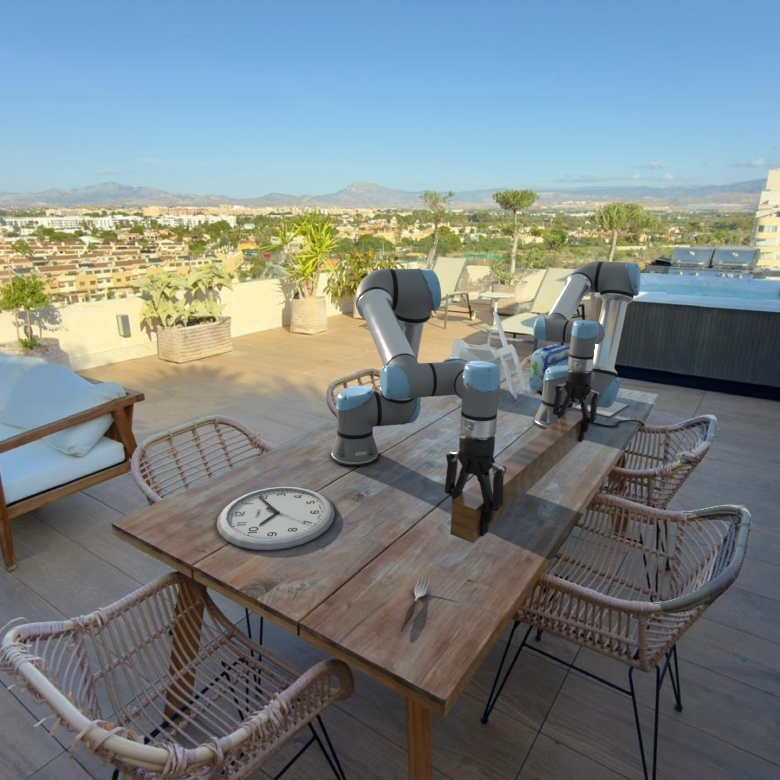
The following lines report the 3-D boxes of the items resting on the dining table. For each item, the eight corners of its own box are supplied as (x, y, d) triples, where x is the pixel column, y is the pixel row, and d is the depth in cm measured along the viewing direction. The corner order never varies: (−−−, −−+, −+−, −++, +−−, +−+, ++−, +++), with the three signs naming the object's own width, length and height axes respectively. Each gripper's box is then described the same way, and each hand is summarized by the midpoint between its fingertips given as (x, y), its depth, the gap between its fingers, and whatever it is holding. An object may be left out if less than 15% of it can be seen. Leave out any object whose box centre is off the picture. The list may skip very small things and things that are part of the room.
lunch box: (545, 397, 238) (550, 352, 231) (524, 391, 245) (529, 348, 239) (572, 386, 255) (578, 344, 249) (552, 381, 262) (557, 340, 256)
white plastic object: (461, 429, 252) (437, 405, 227) (444, 352, 274) (420, 323, 250) (535, 404, 240) (518, 377, 215) (510, 326, 262) (492, 293, 237)
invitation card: (608, 416, 214) (573, 407, 224) (608, 416, 214) (573, 408, 224) (628, 404, 229) (594, 396, 238) (628, 405, 229) (594, 397, 238)
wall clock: (333, 542, 123) (202, 546, 121) (333, 547, 124) (203, 552, 121) (335, 482, 152) (229, 485, 149) (335, 487, 152) (230, 490, 150)
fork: (394, 632, 98) (394, 623, 98) (419, 581, 113) (419, 573, 112) (407, 636, 97) (407, 627, 97) (430, 584, 112) (431, 576, 111)
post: (566, 434, 176) (569, 410, 174) (583, 438, 173) (586, 414, 170) (450, 534, 117) (452, 500, 115) (473, 543, 114) (475, 509, 111)
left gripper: (430, 428, 114) (426, 521, 121) (511, 451, 103) (501, 551, 110) (448, 419, 120) (443, 508, 127) (526, 439, 109) (516, 535, 116)
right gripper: (546, 367, 167) (538, 434, 174) (607, 378, 156) (596, 449, 163) (554, 362, 173) (547, 428, 180) (614, 372, 162) (604, 442, 169)
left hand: (470, 528), depth 119 cm, fingers closed on post, 6 cm apart
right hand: (570, 438), depth 171 cm, fingers closed on post, 6 cm apart
